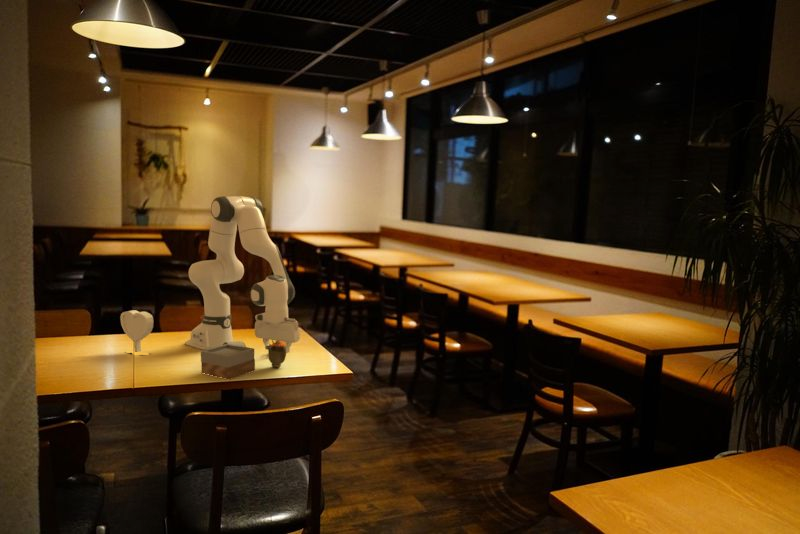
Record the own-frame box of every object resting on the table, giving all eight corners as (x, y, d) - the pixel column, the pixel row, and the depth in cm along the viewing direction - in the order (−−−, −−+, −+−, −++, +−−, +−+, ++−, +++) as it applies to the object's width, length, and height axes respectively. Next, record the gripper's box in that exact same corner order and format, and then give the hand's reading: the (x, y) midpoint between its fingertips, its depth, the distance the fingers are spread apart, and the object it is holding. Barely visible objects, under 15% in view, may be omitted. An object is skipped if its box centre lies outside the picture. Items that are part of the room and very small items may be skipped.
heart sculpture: (119, 352, 255) (118, 310, 253) (129, 349, 260) (128, 308, 257) (146, 357, 248) (145, 314, 246) (155, 354, 253) (154, 312, 251)
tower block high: (201, 361, 227) (200, 351, 227) (227, 353, 240) (227, 343, 239) (228, 367, 221) (228, 356, 220) (254, 359, 233) (254, 348, 233)
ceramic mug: (247, 359, 250) (247, 341, 249) (230, 362, 244) (229, 344, 243) (235, 354, 257) (234, 336, 256) (217, 357, 251) (217, 339, 251)
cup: (280, 371, 234) (282, 352, 233) (263, 367, 236) (265, 348, 234) (288, 365, 242) (290, 346, 240) (271, 362, 243) (273, 343, 242)
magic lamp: (301, 349, 266) (301, 325, 265) (274, 359, 251) (274, 333, 249) (288, 347, 270) (289, 323, 268) (261, 356, 254) (261, 331, 252)
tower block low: (201, 374, 228) (201, 362, 227) (228, 366, 240) (228, 354, 240) (228, 381, 221) (228, 367, 221) (254, 371, 234) (254, 359, 233)
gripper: (302, 317, 234) (303, 352, 235) (262, 313, 244) (263, 346, 245) (292, 320, 228) (293, 355, 230) (251, 315, 238) (252, 349, 239)
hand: (277, 350), depth 237 cm, fingers open, 8 cm apart
